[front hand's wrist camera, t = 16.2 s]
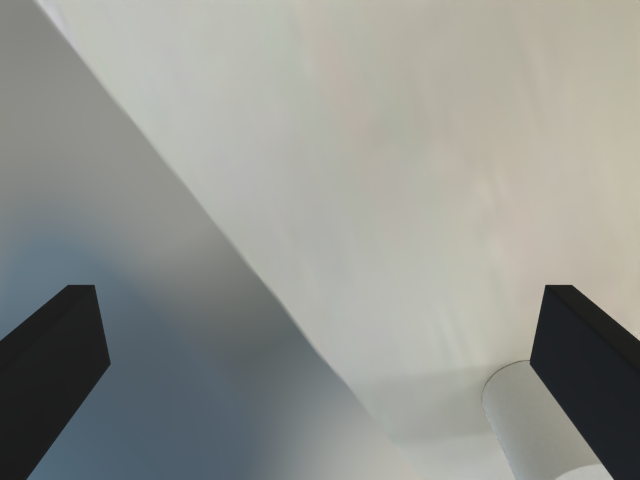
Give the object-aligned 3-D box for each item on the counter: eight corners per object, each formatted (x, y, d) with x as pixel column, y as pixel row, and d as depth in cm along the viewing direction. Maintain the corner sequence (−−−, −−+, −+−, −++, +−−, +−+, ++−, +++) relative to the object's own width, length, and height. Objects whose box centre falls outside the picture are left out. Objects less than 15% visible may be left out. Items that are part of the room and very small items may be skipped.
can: (477, 428, 45) (526, 544, 34) (486, 360, 42) (543, 464, 31) (560, 427, 45) (635, 543, 34) (575, 359, 42) (664, 463, 31)
